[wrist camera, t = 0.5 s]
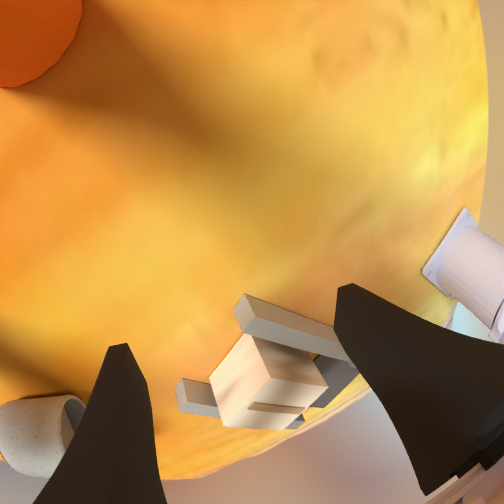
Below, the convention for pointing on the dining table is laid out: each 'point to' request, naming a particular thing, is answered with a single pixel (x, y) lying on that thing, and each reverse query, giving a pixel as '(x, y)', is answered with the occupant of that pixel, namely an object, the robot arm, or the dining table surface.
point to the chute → (273, 329)
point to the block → (265, 384)
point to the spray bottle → (34, 36)
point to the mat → (333, 378)
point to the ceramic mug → (38, 432)
